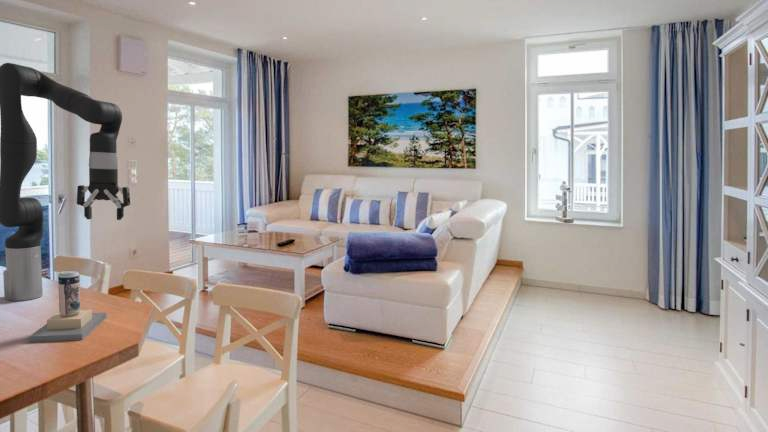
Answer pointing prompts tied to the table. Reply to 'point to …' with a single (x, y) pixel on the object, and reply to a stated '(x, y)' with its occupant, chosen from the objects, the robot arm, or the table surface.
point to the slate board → (64, 333)
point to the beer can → (69, 293)
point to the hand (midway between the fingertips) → (104, 219)
